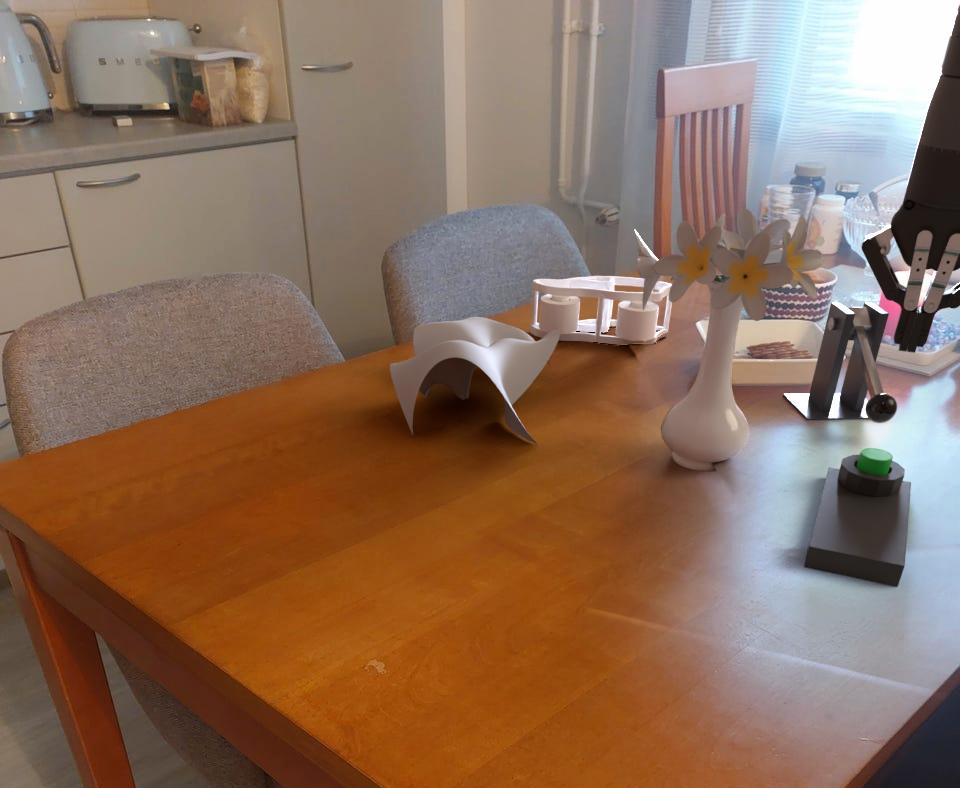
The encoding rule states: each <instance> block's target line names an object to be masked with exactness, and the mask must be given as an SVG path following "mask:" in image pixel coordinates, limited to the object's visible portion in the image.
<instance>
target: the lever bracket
mask: <svg viewBox="0 0 960 788" xmlns="http://www.w3.org/2000/svg"><path fill="white" fill-rule="evenodd" d="M862 307H866V308H867V311H868V314H869V317H870V320H871V324H872V327H871V328H870V330H869V332H868V333H867V335H866V336H867V339H868V342H869V345H870V349H871V352H872V355H873V358H874V362H875V363H877V358H878V355H879V352H880V348H881V344H882V340H883V337H884V333H885V330H886V326H887V322H888V318H889V316H890V315H889V314H890V313H889V312H888V311H886V310H884V309H883V308H882V307H880V306H878V305H877V304H875V303H874V302H864V303H863V306H862ZM854 316H855V313H853V312H852V311H850V310H849V309H848V307H847V306H845V305H843V304H842V303H840V302H831V303H830V306H829V310H828V313H827V318H826V322H825V327H824V331H823V335H822V340H821V344H820V348H819V351H818V355H817V361H816V364H815V368H814V373H813V376H812V381H811V384H810V389H809V393H783V394H782V397H784V398H785V399H786V401H787V402H788V403H789V404H791V406H793V408H794V409H795V410H796V411H797V412H799V413H800V415H801V416H802V417H803V418H804V420H806V421H854V420H855V421H858V420H859V421H861V420H863V421H864V420H870V419H869V418H868V417H867V415H866V405H867V402H868V401H869V399H867V395H868V392H869V391H868V387H867V384H866V381H865V377H864V374H863V371H862V367H861V364H860V360H859V357H858V354H857V350H856V347H855V344H854V343H853V344H852V348H851V351H850V355H849V360H848V363H847V368H846V371H845V375H844V379H843V382H842V387H841V390H840V392H838V393H837V392H836V390H837V387H838V382H839V379H840V375H841V371H842V367H843V363H844V359H845V356H846V351H847V347H848V344H849V341H850V340H849V336H850V332H851V328H852V324H853V320H854Z"/></svg>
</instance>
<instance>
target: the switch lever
mask: <svg viewBox="0 0 960 788" xmlns="http://www.w3.org/2000/svg"><path fill="white" fill-rule="evenodd" d="M847 308H848V309H849V310H850V311H852V312H853V313H855V316H854V320H853V324H852V328H851V332H850V336H849V340H848V341H853V344H855V347H856V350H857V354H858V357H859V360H860V364H861V367H862V371H863V374H864V377H865V381H866V384H867V387H868V391H867V392H868V394H869V397H870V398H869V399H868V402H867V405H866V415H867V417H868V418H869V419H868V420H870V421H871V422H873V423H876V424H885V423H887V422H889V421H891V420H892V419H893V418H894V417H895V415H896V413H897V411H898V403H897V400H896V399H895V397H894V396H893V395H891V394H889V393H886V392H885V391H884V388H883V385H882V382H881V378H880V376H879V372H878V368H877V365H876V362H874V358H873V355H872V352H871V349H870V345H869V342H868V339H867V336H866V335H867V333H868V332H869V330H870V328H871V327H872V324H871V320H870V317H869V314H868V311H867V308H866V307H863V306H849V307H847Z"/></svg>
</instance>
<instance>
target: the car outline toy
mask: <svg viewBox="0 0 960 788" xmlns="http://www.w3.org/2000/svg"><path fill="white" fill-rule="evenodd" d="M644 281H645V279H643V278H641V277H632V276H618V275H617V276H616V275H591V276H577V277H575V276H574V277H569V278H561V279H559V278H557V279H556V278H535V279H533V280H532V300H531V316H530V317H531V318H530V325H529V333H530V334H531V335H533V336H535V337H537V338H540V339H542V338H543V337H544V336H545V335H547V334H548V333H550V332H552V331H555V330H560V337H559V340H558V341H562V342H565V341H566V342H588V343H593V342H598V343H597V344H600V343H610V344H611V343H612V344H633V343H653V342H656V340H657V338H658V337H660V336H661V335H663V334H665V333H667V332H668V333H669V328H670V320H671V314H672V306H673V302H670V301H669V291H670V288H671V286H672V284H673V283H671V282H666V281H660V280H658V282H657V283H656V285H655V287H654V288H653V290H652V292H651V294H650V297H649V299H648V301H647V304H646V306H645V309H644V311H643V305H642V304H643V302H642V301H643V291H621V290H615V287H616V286H624V287H625V286H626V287H635V288H636V287H638V288H644ZM539 293H540V294H544V295H542V296H541V297H540V302H539ZM580 297H583V298H585V297H586V298H594V299H598V300H597V309H596V310H597V311H596V318H588V319H582V320H581V319H580V309H581V298H580ZM665 297H666V302H665V303H666V304H665V311H664V318H663V324H662V326H661V325H658V318H659V311H660V306H659V305H658V304H657V303H655V302H661V301H663V298H665ZM614 301H620V302H618V303H617V313H616V319H612V317H613V316H612V315H613V308H614V307H613V306H614ZM539 303H540V304H539ZM538 304H539V320H538ZM537 320H538V321H537ZM610 326H616V328H615V332H614V334H615V335H608V334H601V332H603V333H604V332H608V333H609V331H610V328H609V327H610ZM608 330H609V331H608ZM656 330H660V331H658V332H656ZM576 331H580V332H576ZM588 332H595V333H588ZM656 343H657V342H656Z"/></svg>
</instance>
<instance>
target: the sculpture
mask: <svg viewBox="0 0 960 788" xmlns="http://www.w3.org/2000/svg"><path fill="white" fill-rule="evenodd" d="M559 337H560V330H555V331H552V332H550V333H548V334H547V335H545V336H544V337H543V338H540V339H539V340H535V339H534V338H533V337H532V336H531V335H530V334H528V333H527V332H525V331H524V330H522V329H521V328H518V327H517V326H513V325H510V324H508V323H503V322H500V321H498V320H494V319H491V318H487V317H482V316H470V317H466V318H464V319H459V320H446V321H437V322H436V321H435V322H428V323H422V324H418V325H416V327H415V328H414V331H413V336H412V344H413V352H414V356H412V357H410V358H408V359H406V360H403V361H399V362H395V363H394V362H393V363H390V365H389V371H390V372H389V373H390V376H391V377H390V378H391V381H392V384H393V387H394V390H395V393H396V396H397V399H398V401H399V404H400V407H401V409H402V412H403V416H404V418H405V420H406V422H407V425H408V427H409V430H410V433H411V435H412V436H414V428H413V427H414V426H413V425H414V424H413V422H414V411H415V405H416V400H417V397H418V393H419V392H420V394H421V395H422V396H424V398H425V397H427V395H428V393H429V391H430V389H432V388H433V386H435V385H438V384H439V385H440V384H441V385H445V386H447V387H448V388H450V389H451V390H452V391H453V393H455V394H456V396H457V398H458V399H461V400H462V401H464V400H466V399H469V395H470V386H471V382H472V377H473V373H474V372H475V369H476V366H477V367H478V368H479V369H481V370H482V371H483V372H484V373H485V375H487V376H488V377H489V379H490V380H491V381H492V382H493V384H494V385H495V386H496V388H497V389H498V390H499V392H500V393H501V394H502V396H503V398H504V423H505V425H506V427H507V428H508V429H509V430H510V431H512V433H514V434H516V435H517V436H519V437H521V438H522V439H524V440H527V441H529V442H530V443H533V444H535V445H537V446H539V443H538V442H537V441H536V440H535V439H534V438H533V437H532V436H531V434H529V432H528V431H527V429H526V427H525V426H524V425H523V423H522V421H521V420H520V418H519V416H518V414H517V413H516V411H515V409H514V407H513V405H514V404H515V403H516V402H517V400H519V398H521V396H523V394H524V393H525V392H526V391H527V390H528V389H529V387H530V386H531V385H532V384H533V382H534V381H535V380H536V379H537V378H538V376H539V374H541V372H542V370H543V369H544V368H545V366H546V365H547V363H548V364H549V367H550V369H551V363H550V358H551V356H552V355H553V353H554V350H555V349H556V348H557V345H558V343H559V341H560V340H559Z"/></svg>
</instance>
